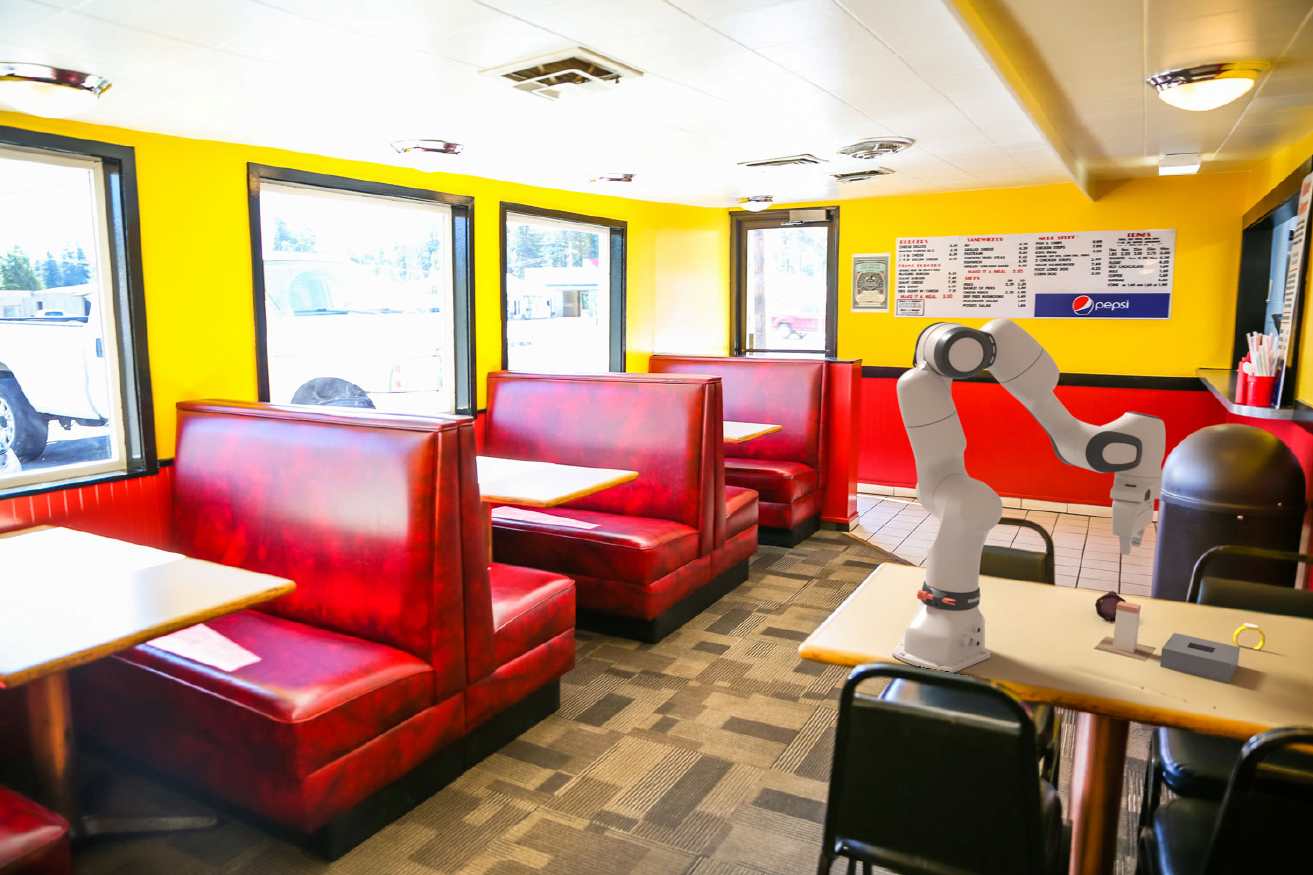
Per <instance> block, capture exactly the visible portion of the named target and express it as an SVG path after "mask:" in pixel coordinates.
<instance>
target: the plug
mask: <svg viewBox="0 0 1313 875" xmlns="http://www.w3.org/2000/svg"><path fill="white" fill-rule="evenodd" d="M1140 615H1141V604H1138V603H1132V602H1127V601H1126V602H1123V601H1120V602H1119V603H1118V604H1117V607H1116V619H1115V622H1114V631H1113V638H1114V641H1113V648H1115V649H1119V650H1123V651H1128V652H1132V653H1133V652H1134V651H1135V650H1136V648H1137V644H1138V637H1139V636H1138V635H1139V626H1140V625H1139V624H1140V617H1141V616H1140Z"/></svg>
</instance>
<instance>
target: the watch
mask: <svg viewBox="0 0 1313 875" xmlns="http://www.w3.org/2000/svg"><path fill="white" fill-rule="evenodd" d="M1245 630H1249V631H1258V633H1259V634H1260V641H1259V643H1258V644H1257V645H1255V647H1253V649H1255V650H1262V649H1263V647H1264V646H1265V644H1266V634H1264V632H1263V630H1261V629H1260V628H1259V626H1258V625H1256V624H1254V623H1249V622H1245V623H1243V625H1241V626H1239V627H1237V628H1236V630H1234V633H1233V635H1232V642H1233V644H1234V646H1237V647H1240V645H1239V642H1238V638H1239V635H1240V634H1241V633H1242V632H1243V631H1245Z"/></svg>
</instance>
